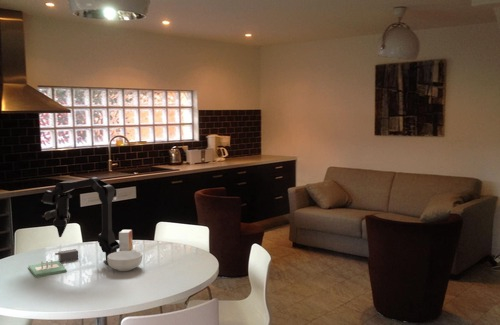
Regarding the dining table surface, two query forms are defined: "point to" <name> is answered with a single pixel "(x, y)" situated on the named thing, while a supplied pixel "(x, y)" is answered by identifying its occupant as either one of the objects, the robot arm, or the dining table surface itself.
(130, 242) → the small box
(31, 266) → the pin board
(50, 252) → the dining table surface
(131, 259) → the cereal bowl
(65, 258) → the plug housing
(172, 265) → the dining table surface
